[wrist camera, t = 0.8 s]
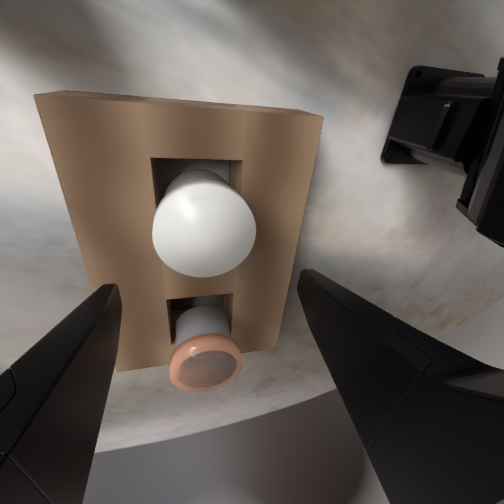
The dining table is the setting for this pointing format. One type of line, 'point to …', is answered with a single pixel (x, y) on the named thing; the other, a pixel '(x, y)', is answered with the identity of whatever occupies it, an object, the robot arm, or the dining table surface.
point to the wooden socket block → (148, 198)
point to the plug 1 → (202, 225)
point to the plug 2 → (204, 351)
